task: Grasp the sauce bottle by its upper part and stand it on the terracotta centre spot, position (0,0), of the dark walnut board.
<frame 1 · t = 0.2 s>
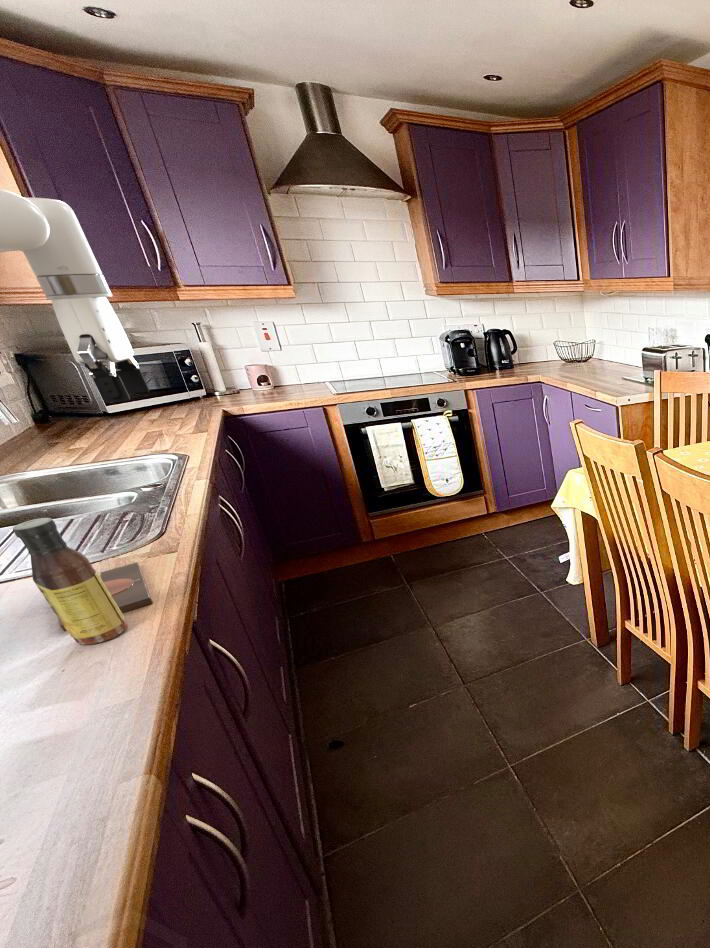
hand: (128, 397, 99), 33 cm above the counter, tool pointing down, fingers open, 9 cm apart
sauce bottle: (104, 637, 92), on the counter
board: (105, 596, 104), on the counter
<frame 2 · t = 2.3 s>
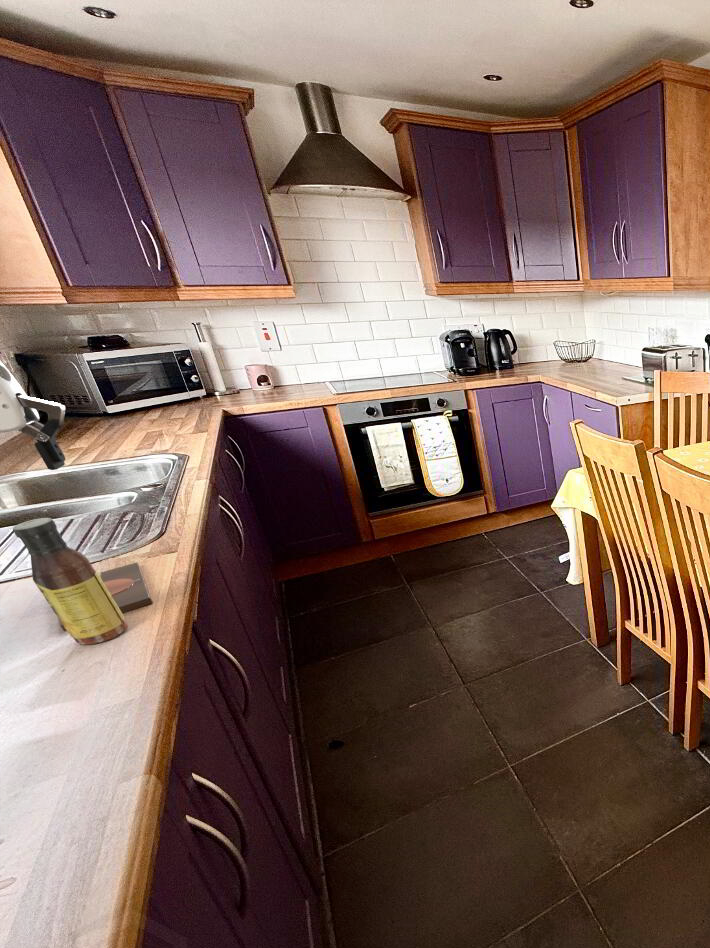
hand: (11, 474, 81), 27 cm above the counter, tool pointing down, fingers open, 9 cm apart
nothing on the counter moved.
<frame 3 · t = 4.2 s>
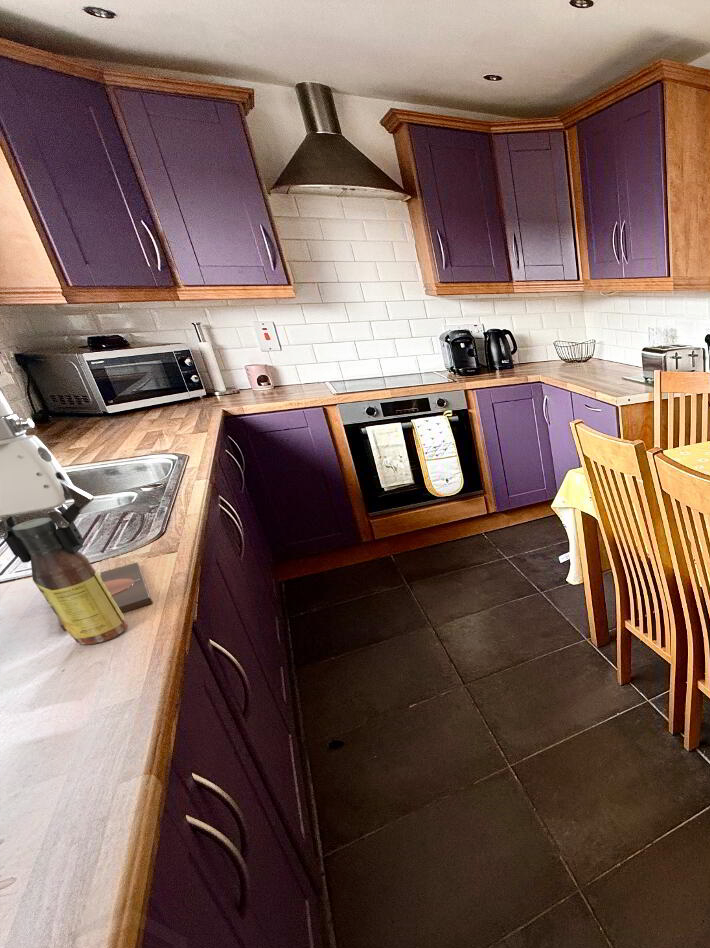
hand: (53, 553, 86), 15 cm above the counter, tool pointing down, fingers closed on sauce bottle, 4 cm apart
sauce bottle: (104, 637, 92), on the counter, touching gripper
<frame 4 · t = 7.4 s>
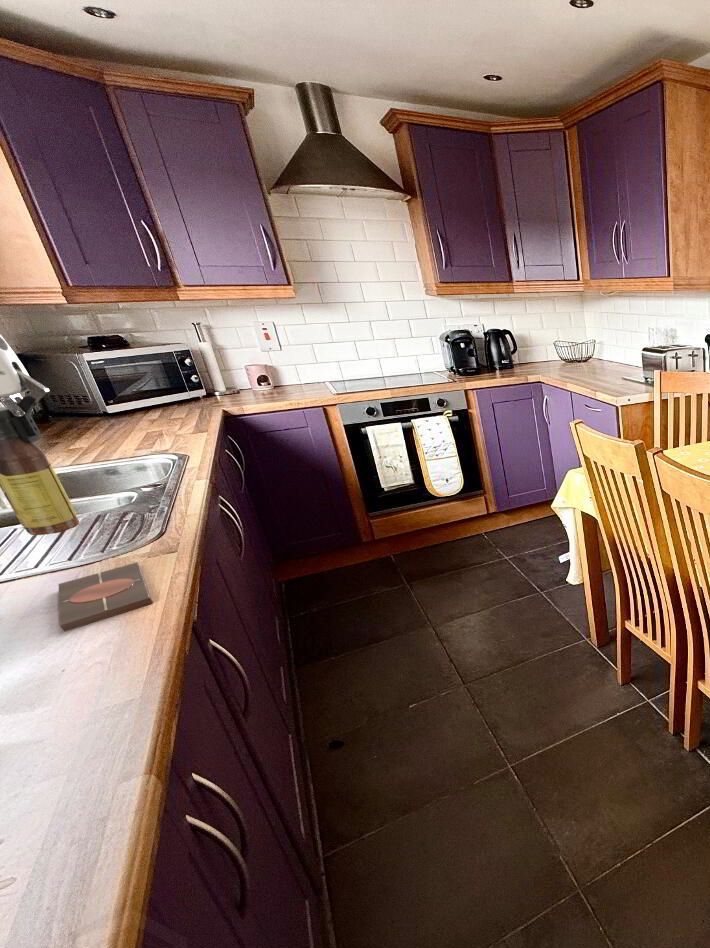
hand: (11, 442, 90), 29 cm above the counter, tool pointing down, fingers closed on sauce bottle, 4 cm apart
sauce bottle: (55, 531, 96), point 14 cm above the counter, touching gripper
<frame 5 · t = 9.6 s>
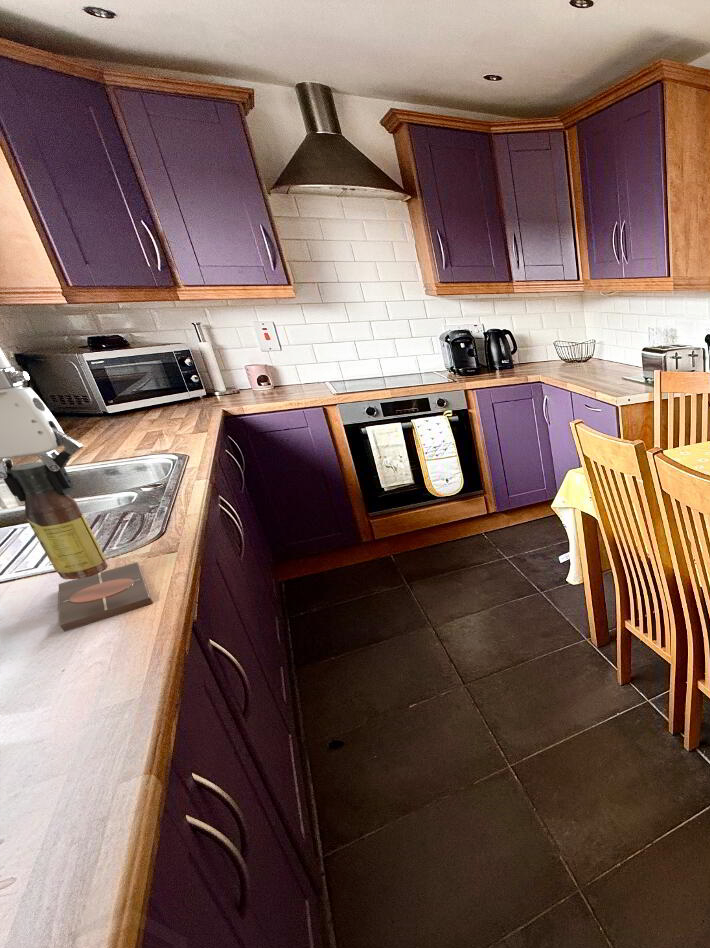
hand: (46, 494, 96), 20 cm above the counter, tool pointing down, fingers closed on sauce bottle, 4 cm apart
sauce bottle: (85, 574, 102), point 5 cm above the counter, touching gripper
when the fingers open (16 cm above the counter, at t = 10.8 s): sauce bottle stays where it is, resting on board.
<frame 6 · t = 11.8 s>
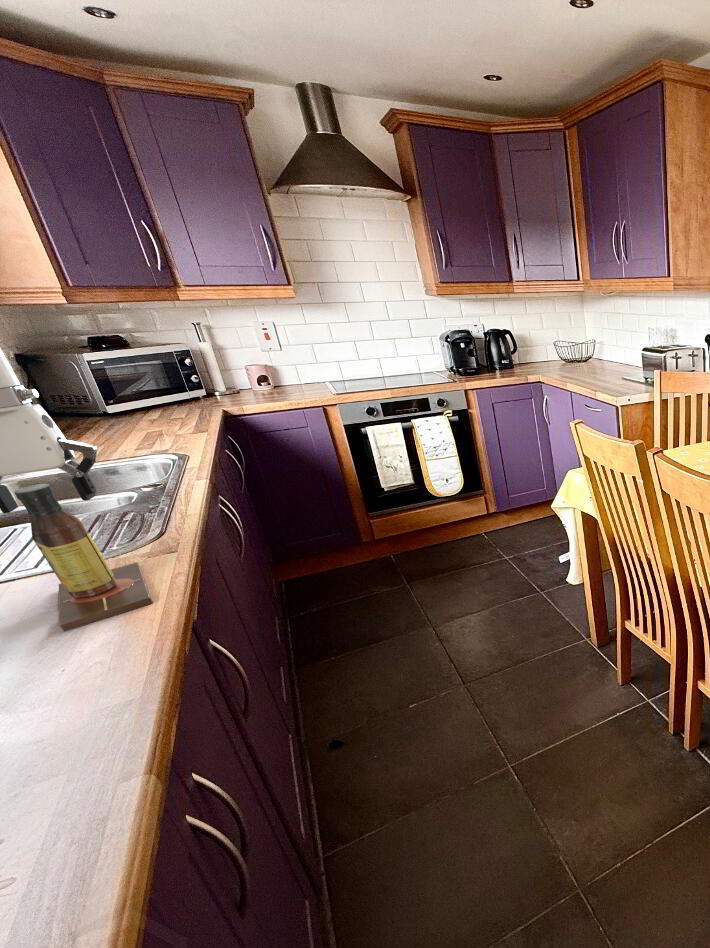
hand: (51, 504, 97), 18 cm above the counter, tool pointing down, fingers open, 9 cm apart
sauce bottle: (95, 592, 103), point 1 cm above the counter, touching board
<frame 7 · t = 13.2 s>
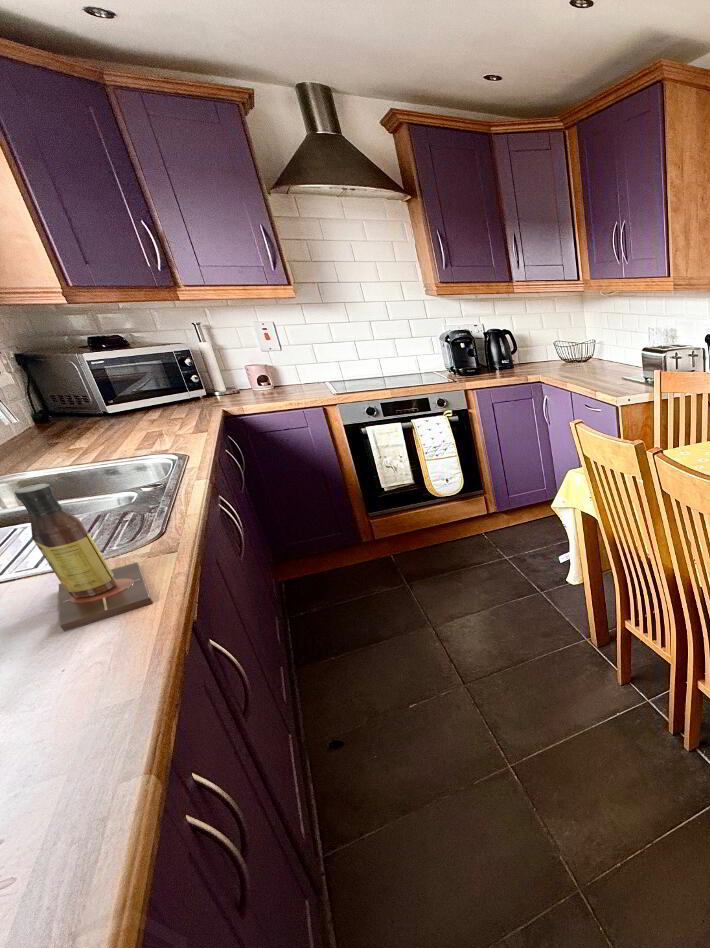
nothing on the counter moved.
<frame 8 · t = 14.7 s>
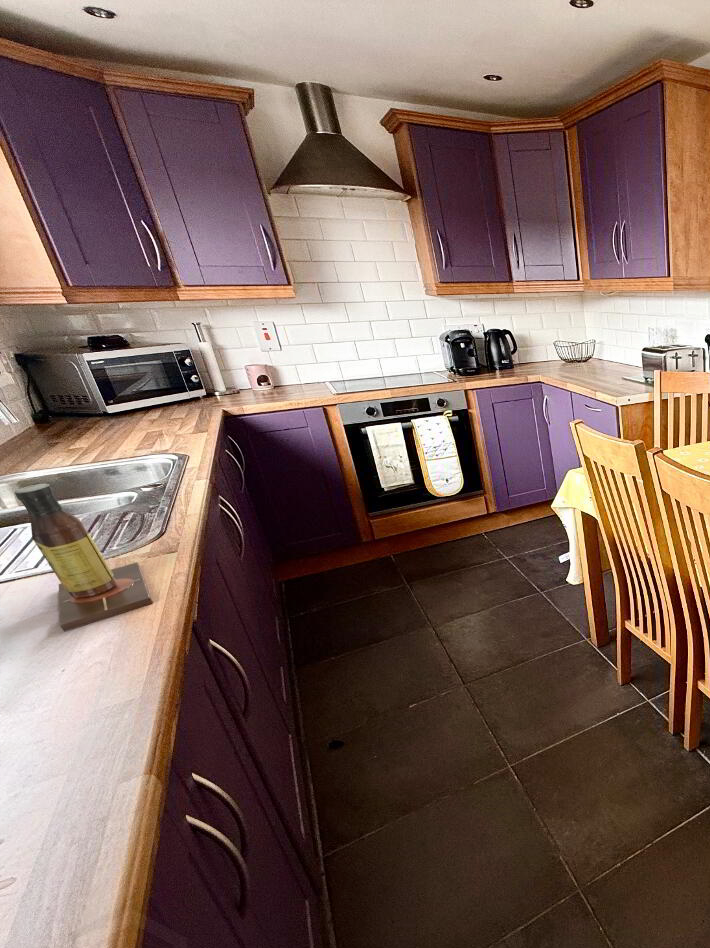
nothing on the counter moved.
at the end: sauce bottle 1.0 cm off-centre on the board, point 1.1 cm above the board's base; sauce bottle tilted 0°; the gripper is holding nothing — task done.
